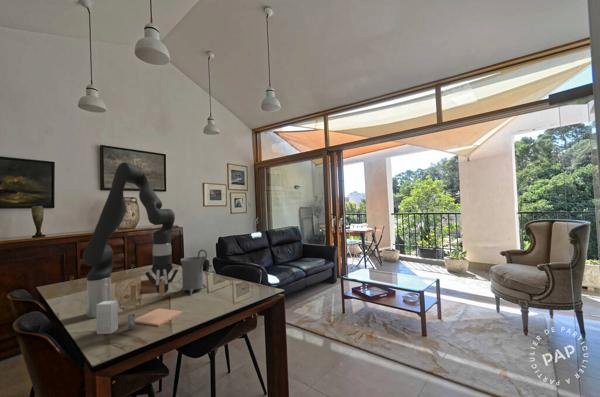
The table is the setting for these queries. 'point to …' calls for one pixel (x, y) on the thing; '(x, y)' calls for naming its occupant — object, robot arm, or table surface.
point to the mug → (193, 272)
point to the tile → (158, 317)
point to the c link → (146, 288)
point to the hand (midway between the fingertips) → (162, 292)
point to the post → (131, 322)
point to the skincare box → (107, 317)
